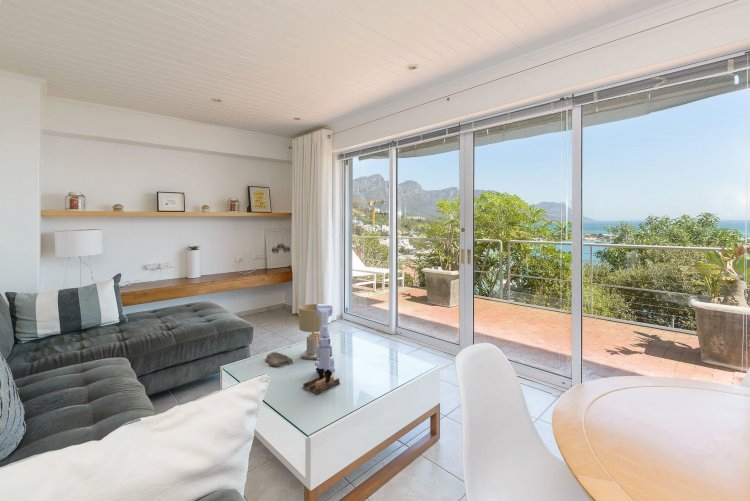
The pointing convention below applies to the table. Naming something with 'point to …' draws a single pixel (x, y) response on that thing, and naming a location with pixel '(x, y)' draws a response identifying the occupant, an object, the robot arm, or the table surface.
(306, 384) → the walnut rack
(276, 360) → the brown rock
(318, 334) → the desk lamp
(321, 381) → the light brown long block
